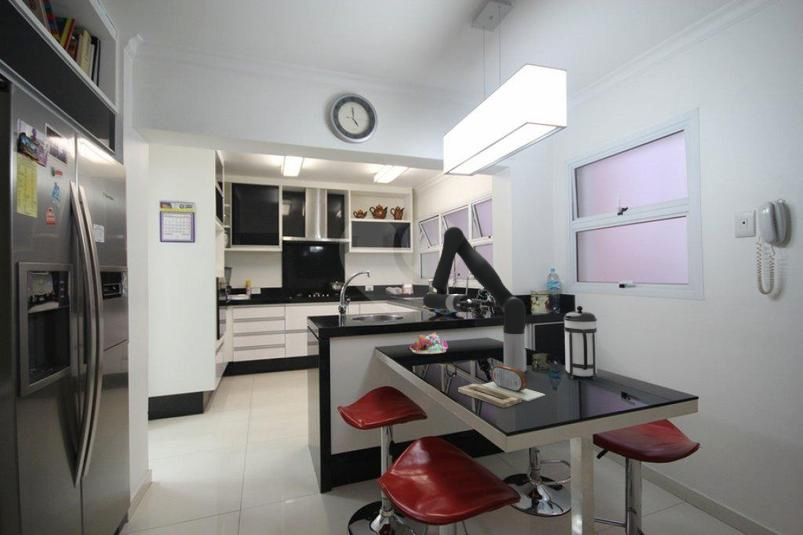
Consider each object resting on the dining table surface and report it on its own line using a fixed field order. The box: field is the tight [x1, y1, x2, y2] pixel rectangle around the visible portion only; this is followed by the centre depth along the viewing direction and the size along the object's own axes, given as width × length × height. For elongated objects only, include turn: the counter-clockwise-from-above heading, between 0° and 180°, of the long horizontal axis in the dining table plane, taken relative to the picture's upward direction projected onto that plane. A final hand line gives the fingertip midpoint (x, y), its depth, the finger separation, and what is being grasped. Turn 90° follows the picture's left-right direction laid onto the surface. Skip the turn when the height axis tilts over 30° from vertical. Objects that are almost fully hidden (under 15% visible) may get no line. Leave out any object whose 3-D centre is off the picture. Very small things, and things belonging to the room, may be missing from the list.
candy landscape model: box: [408, 332, 449, 355], centre depth 220 cm, size 25×24×9 cm
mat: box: [481, 381, 546, 402], centre depth 141 cm, size 10×22×1 cm, turn 35°
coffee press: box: [563, 305, 599, 382], centre depth 157 cm, size 17×16×30 cm
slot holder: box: [457, 382, 522, 409], centre depth 134 cm, size 9×21×2 cm, turn 35°
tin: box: [491, 364, 528, 392], centre depth 141 cm, size 15×3×8 cm, turn 34°
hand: (486, 305), depth 148 cm, fingers open, 8 cm apart
